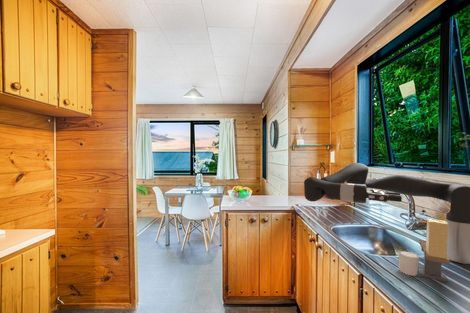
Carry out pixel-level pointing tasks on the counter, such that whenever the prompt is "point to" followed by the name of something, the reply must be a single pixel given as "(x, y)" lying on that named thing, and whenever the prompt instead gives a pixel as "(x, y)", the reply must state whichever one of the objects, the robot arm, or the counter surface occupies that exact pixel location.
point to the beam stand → (432, 270)
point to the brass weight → (437, 238)
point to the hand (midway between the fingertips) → (400, 197)
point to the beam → (430, 258)
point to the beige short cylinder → (408, 262)
